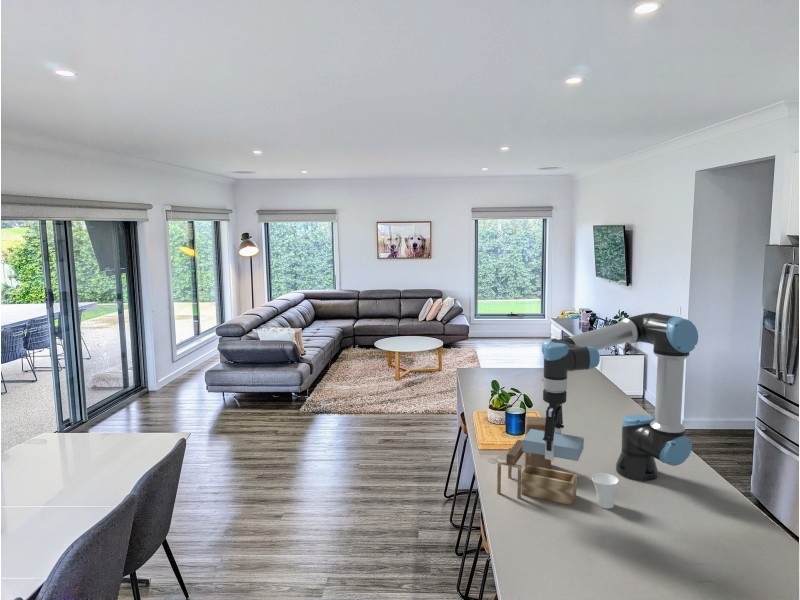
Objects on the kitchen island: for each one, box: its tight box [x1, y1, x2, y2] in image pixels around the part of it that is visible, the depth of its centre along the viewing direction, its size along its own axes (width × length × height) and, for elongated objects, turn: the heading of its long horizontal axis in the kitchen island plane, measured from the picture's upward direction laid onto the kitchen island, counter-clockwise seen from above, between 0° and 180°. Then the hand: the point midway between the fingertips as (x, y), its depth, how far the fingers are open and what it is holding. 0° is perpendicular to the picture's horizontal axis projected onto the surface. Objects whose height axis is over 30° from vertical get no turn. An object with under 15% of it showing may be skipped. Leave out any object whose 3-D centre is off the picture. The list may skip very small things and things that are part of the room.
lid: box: [522, 429, 585, 462], centre depth 182 cm, size 18×11×4 cm, turn 62°
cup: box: [591, 472, 620, 510], centre depth 189 cm, size 9×9×10 cm
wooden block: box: [524, 416, 552, 470], centre depth 218 cm, size 10×10×20 cm
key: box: [506, 439, 525, 465], centre depth 201 cm, size 3×15×4 cm, turn 152°
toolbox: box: [496, 446, 578, 506], centre depth 198 cm, size 26×15×12 cm, turn 62°
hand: (553, 452), depth 183 cm, fingers closed on lid, 11 cm apart
